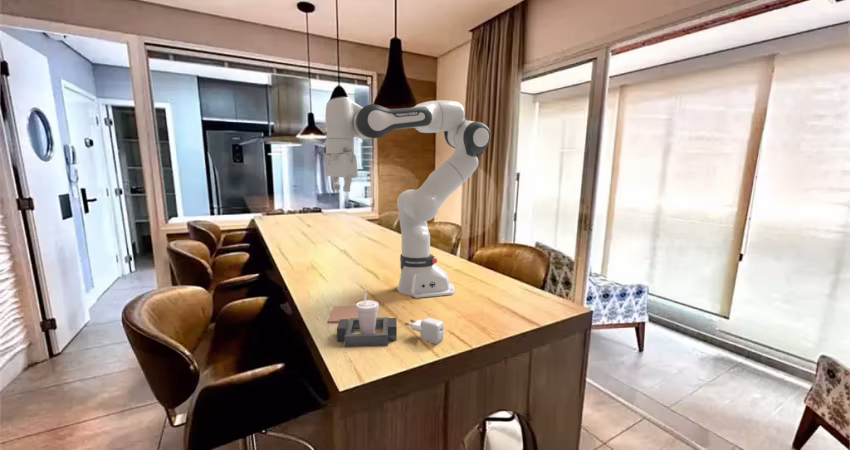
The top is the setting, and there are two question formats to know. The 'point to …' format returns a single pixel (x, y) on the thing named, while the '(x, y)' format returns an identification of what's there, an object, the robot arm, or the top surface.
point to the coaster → (342, 313)
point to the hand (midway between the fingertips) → (341, 190)
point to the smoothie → (367, 314)
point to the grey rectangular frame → (366, 339)
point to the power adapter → (428, 329)
